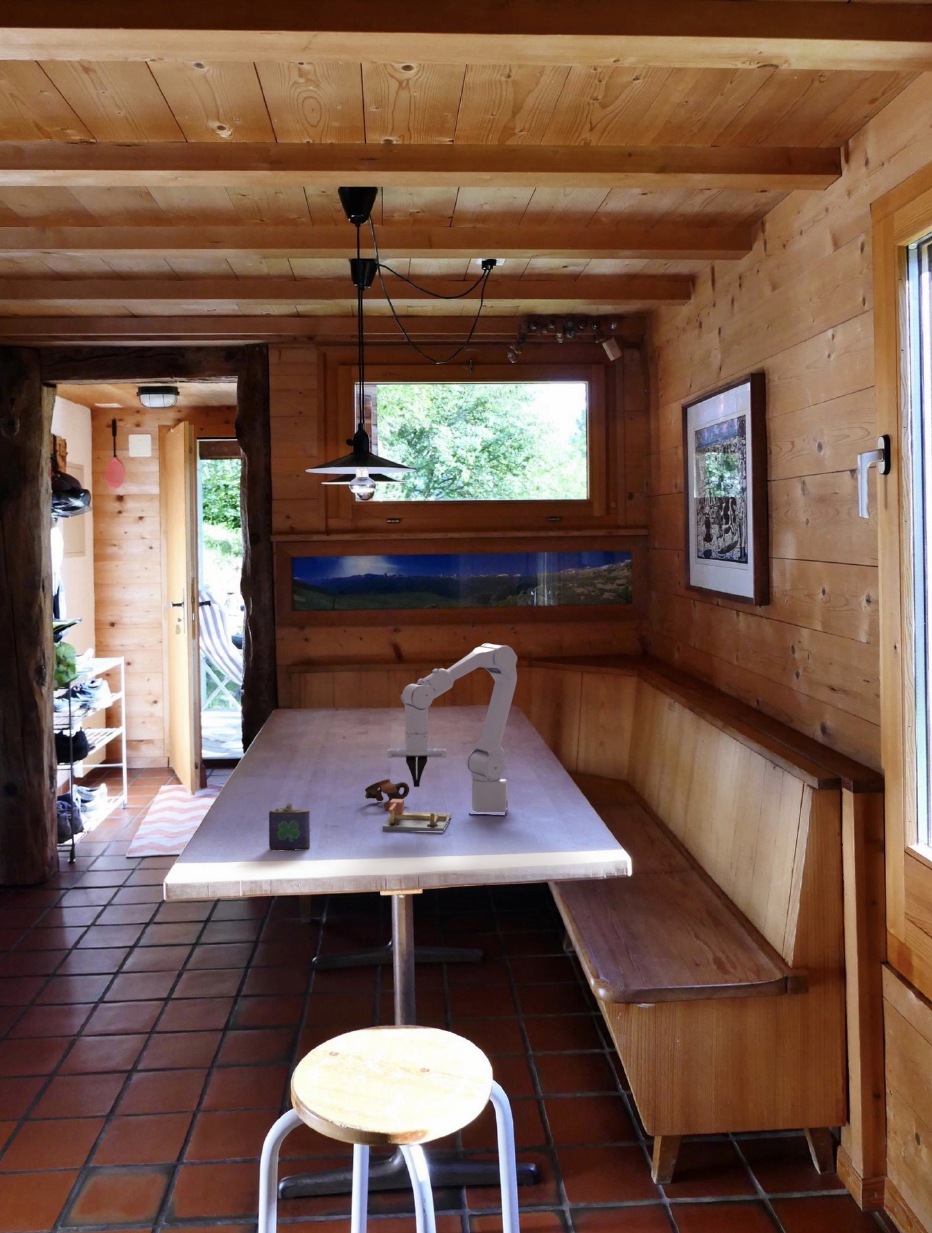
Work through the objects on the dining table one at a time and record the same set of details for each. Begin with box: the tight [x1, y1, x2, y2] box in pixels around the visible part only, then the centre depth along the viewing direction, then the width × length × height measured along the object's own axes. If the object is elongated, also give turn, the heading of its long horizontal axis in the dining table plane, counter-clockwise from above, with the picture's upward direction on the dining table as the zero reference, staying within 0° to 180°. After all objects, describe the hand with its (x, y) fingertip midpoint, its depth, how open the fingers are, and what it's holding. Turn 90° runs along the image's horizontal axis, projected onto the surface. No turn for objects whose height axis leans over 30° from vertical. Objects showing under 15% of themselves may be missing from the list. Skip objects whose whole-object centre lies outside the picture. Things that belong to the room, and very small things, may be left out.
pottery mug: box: [364, 778, 410, 811], centre depth 255 cm, size 12×10×8 cm
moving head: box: [388, 798, 405, 823], centre depth 235 cm, size 3×9×4 cm, turn 173°
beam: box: [394, 812, 447, 826], centre depth 235 cm, size 14×7×3 cm, turn 83°
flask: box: [268, 802, 311, 851], centre depth 216 cm, size 9×3×11 cm, turn 95°
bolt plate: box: [382, 810, 453, 832], centre depth 237 cm, size 15×14×1 cm
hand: (416, 786), depth 237 cm, fingers closed
